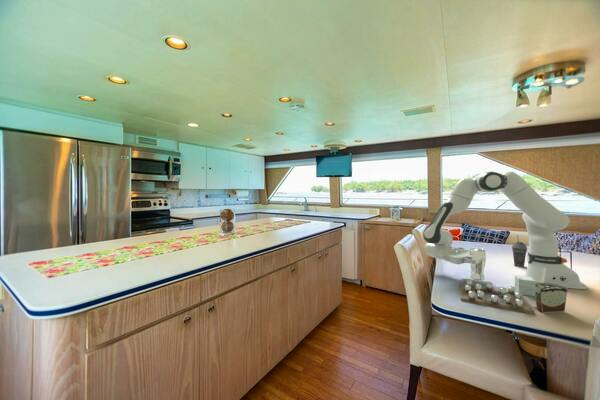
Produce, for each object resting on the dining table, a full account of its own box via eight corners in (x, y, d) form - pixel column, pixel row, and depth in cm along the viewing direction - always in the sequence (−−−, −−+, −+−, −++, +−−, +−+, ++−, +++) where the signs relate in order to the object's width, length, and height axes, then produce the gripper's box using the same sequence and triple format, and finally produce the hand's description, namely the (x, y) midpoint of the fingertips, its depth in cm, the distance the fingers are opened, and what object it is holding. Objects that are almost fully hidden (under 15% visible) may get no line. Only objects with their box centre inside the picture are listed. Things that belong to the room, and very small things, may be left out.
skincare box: (530, 291, 117) (530, 276, 117) (535, 296, 112) (536, 281, 111) (514, 289, 120) (514, 274, 119) (518, 294, 114) (519, 279, 114)
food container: (551, 304, 104) (552, 281, 103) (568, 311, 98) (568, 287, 97) (524, 305, 103) (524, 282, 103) (538, 312, 97) (539, 288, 97)
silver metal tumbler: (488, 281, 123) (488, 251, 122) (473, 280, 124) (473, 251, 124) (481, 276, 129) (481, 248, 129) (466, 275, 131) (466, 248, 130)
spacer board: (522, 296, 112) (522, 294, 112) (533, 314, 96) (533, 311, 96) (459, 286, 124) (459, 284, 124) (461, 300, 109) (461, 298, 109)
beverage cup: (521, 268, 150) (522, 236, 149) (508, 265, 157) (509, 234, 156) (529, 267, 152) (530, 235, 151) (516, 264, 159) (517, 233, 158)
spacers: (517, 296, 112) (517, 287, 112) (527, 312, 98) (527, 302, 97) (464, 287, 123) (464, 279, 123) (465, 301, 108) (465, 292, 108)
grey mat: (491, 282, 129) (491, 282, 129) (495, 291, 118) (495, 290, 118) (462, 278, 135) (462, 278, 135) (463, 285, 125) (463, 285, 125)
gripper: (440, 251, 134) (467, 257, 121) (463, 247, 142) (490, 252, 130) (440, 262, 134) (467, 270, 121) (463, 257, 143) (490, 264, 130)
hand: (479, 261), depth 126 cm, fingers closed on silver metal tumbler, 6 cm apart
